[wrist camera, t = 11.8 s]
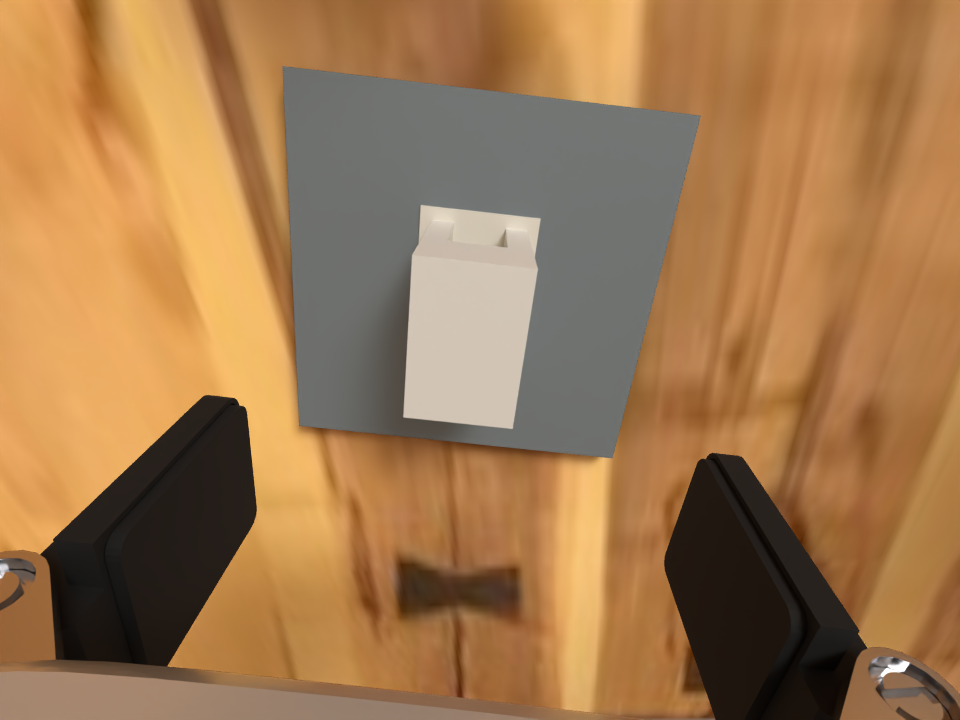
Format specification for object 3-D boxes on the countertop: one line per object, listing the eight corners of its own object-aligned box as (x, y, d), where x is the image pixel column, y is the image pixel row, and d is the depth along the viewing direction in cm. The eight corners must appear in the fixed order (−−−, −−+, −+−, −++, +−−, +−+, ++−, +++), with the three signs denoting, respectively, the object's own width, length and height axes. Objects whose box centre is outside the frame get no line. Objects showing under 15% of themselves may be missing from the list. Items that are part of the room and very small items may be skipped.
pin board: (690, 115, 21) (726, 116, 18) (607, 444, 28) (623, 489, 25) (293, 68, 21) (255, 60, 18) (307, 413, 28) (281, 454, 24)
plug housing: (527, 230, 22) (538, 269, 17) (508, 359, 25) (512, 429, 19) (432, 219, 22) (412, 254, 17) (423, 350, 25) (403, 417, 19)
